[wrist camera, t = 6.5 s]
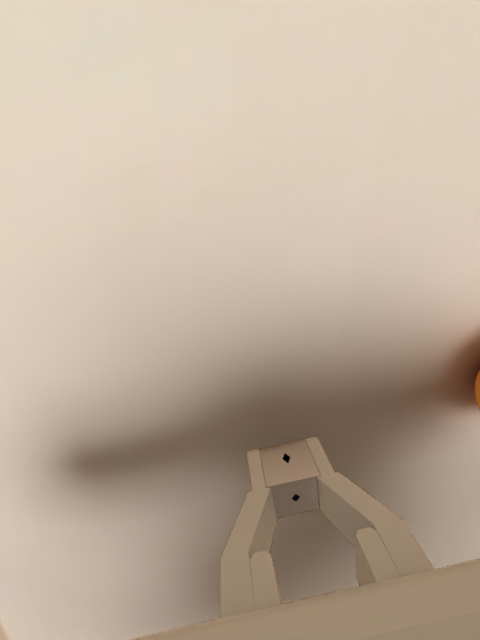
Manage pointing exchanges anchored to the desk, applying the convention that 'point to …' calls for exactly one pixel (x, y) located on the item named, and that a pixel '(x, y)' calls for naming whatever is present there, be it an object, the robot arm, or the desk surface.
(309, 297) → the desk surface
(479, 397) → the ball
